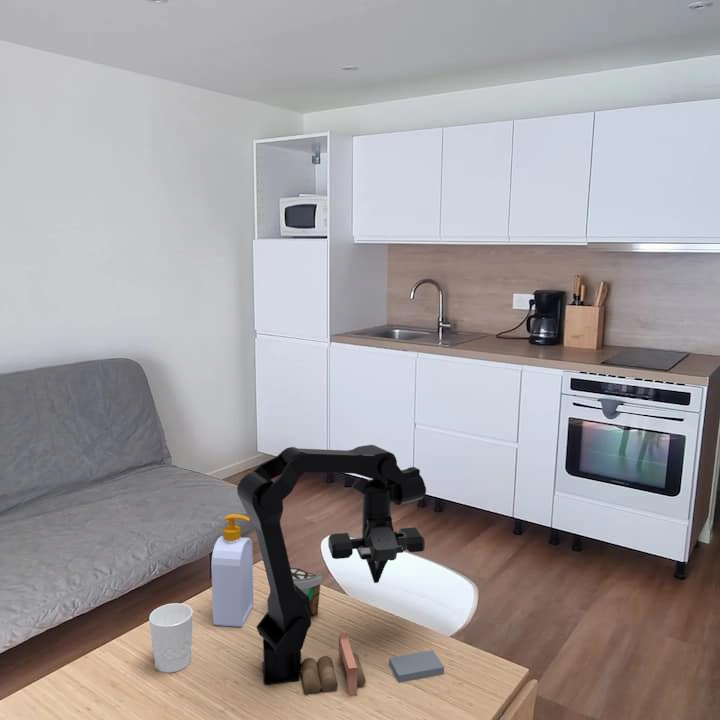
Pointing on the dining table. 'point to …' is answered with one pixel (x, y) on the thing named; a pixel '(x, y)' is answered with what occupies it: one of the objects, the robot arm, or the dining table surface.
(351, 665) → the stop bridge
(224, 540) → the soap bottle
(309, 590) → the food container
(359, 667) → the roller
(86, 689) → the dining table surface
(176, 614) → the white cup
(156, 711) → the dining table surface
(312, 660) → the roller
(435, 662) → the slab
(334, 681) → the roller
